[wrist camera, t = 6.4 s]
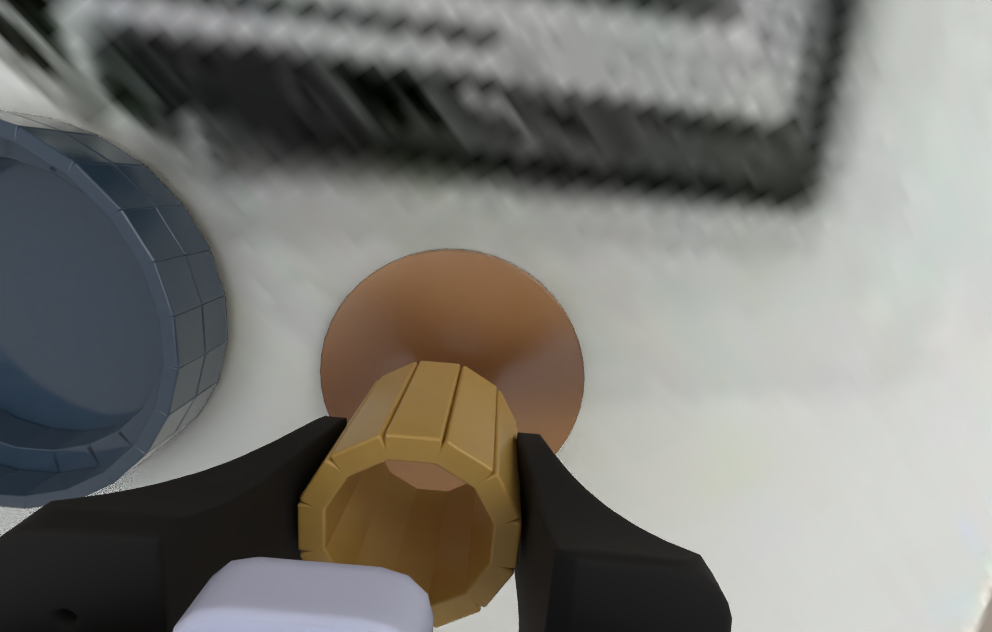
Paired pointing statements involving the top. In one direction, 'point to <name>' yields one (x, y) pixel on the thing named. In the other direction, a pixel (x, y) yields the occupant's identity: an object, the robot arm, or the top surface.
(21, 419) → the bowl
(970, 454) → the top surface
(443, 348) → the coaster
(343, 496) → the brass ring
